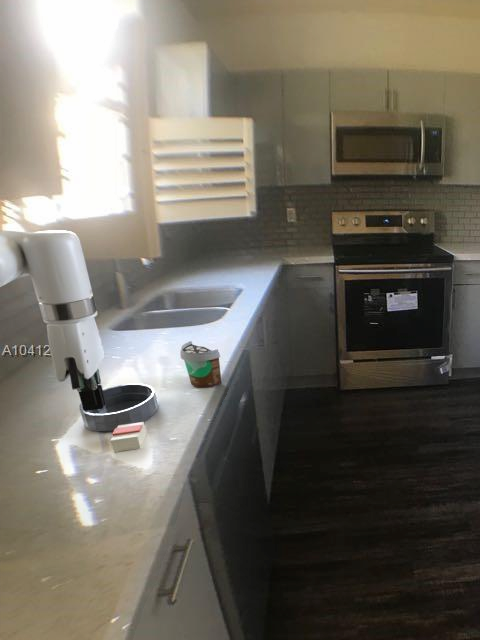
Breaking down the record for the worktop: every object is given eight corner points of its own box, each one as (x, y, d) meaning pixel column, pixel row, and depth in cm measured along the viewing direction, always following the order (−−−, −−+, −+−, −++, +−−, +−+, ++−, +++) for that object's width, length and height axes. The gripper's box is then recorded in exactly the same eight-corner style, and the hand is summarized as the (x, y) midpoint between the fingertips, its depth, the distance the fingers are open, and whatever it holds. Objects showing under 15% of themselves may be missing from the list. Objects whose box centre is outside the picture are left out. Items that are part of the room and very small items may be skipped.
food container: (176, 382, 121) (168, 347, 117) (196, 374, 126) (190, 340, 122) (204, 394, 115) (197, 357, 111) (225, 385, 119) (219, 349, 115)
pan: (75, 438, 97) (69, 419, 95) (96, 405, 110) (91, 388, 109) (152, 426, 101) (147, 408, 99) (163, 396, 114) (159, 380, 112)
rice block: (113, 452, 92) (109, 438, 91) (120, 436, 97) (117, 423, 96) (140, 448, 93) (137, 434, 92) (146, 432, 98) (143, 419, 97)
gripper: (59, 298, 81) (84, 392, 87) (22, 324, 67) (55, 432, 74) (107, 296, 83) (127, 387, 89) (80, 320, 69) (107, 425, 76)
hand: (95, 407), depth 82 cm, fingers closed
